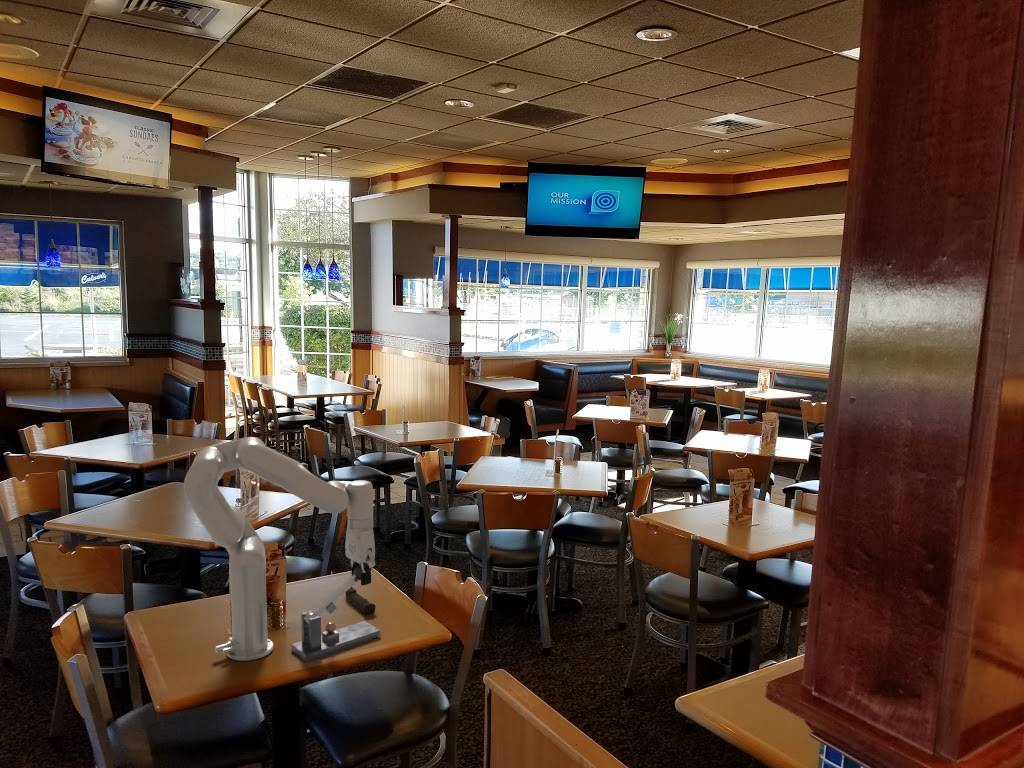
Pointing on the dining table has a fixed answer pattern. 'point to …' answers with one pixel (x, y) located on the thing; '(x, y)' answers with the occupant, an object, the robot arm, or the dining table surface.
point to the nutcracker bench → (325, 648)
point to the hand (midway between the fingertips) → (361, 581)
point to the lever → (335, 596)
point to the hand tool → (360, 602)
